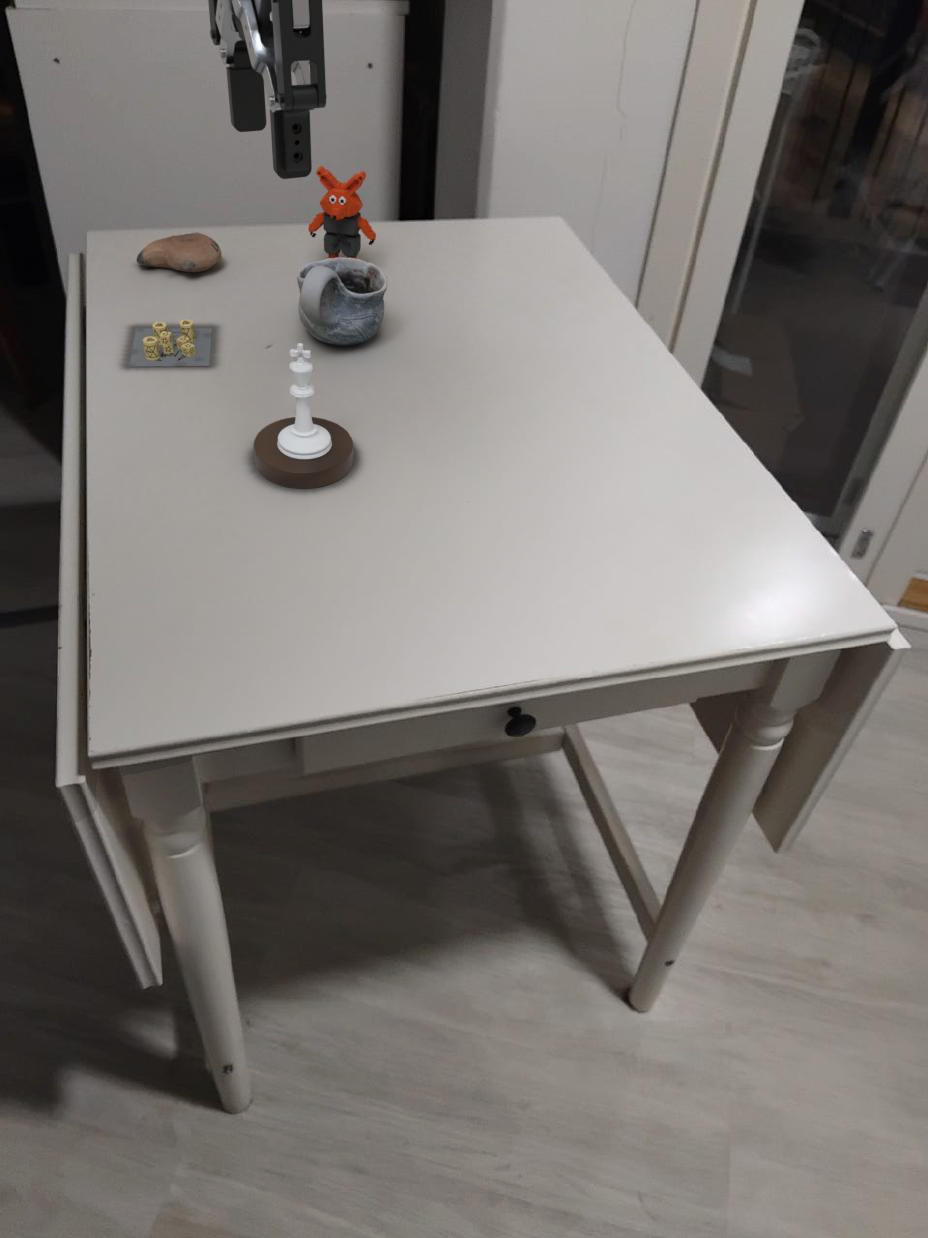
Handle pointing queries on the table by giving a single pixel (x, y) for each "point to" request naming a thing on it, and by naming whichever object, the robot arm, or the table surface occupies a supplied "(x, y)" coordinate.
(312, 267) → the mug
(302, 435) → the chess piece
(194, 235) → the brown rounded lump
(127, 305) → the table surface
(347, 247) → the toy animal
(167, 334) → the dice set
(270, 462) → the walnut chip
